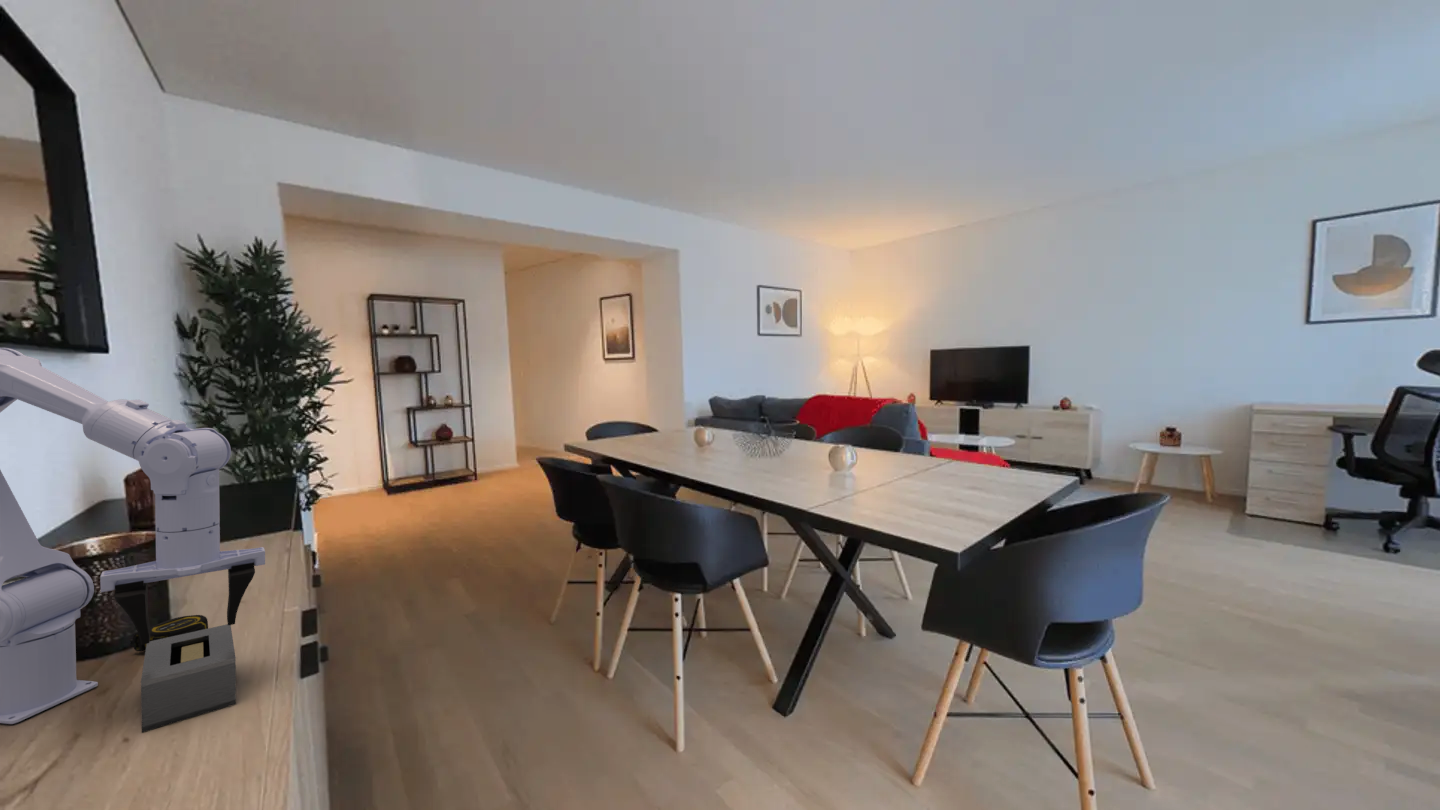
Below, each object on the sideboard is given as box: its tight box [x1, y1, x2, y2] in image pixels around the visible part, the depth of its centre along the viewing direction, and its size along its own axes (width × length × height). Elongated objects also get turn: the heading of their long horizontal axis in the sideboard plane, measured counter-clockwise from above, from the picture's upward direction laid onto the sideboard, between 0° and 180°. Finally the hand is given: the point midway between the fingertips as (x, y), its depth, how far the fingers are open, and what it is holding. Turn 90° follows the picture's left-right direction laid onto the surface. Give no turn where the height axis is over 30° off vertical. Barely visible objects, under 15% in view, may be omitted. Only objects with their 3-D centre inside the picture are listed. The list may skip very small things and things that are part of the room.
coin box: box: [140, 623, 237, 733], centre depth 68 cm, size 12×8×6 cm, turn 45°
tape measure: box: [129, 614, 209, 652], centre depth 79 cm, size 7×7×4 cm
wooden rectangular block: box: [181, 642, 203, 663], centre depth 68 cm, size 5×2×5 cm, turn 44°
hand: (190, 631), depth 68 cm, fingers open, 7 cm apart
